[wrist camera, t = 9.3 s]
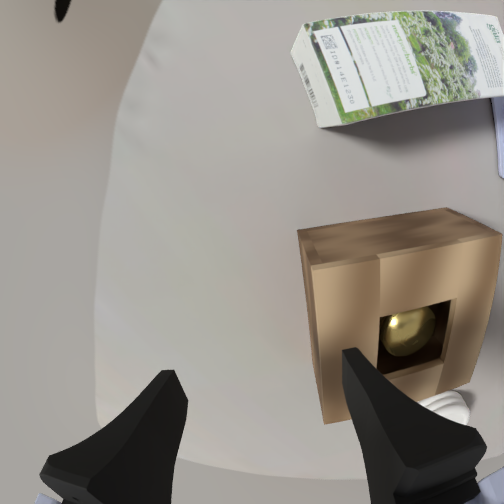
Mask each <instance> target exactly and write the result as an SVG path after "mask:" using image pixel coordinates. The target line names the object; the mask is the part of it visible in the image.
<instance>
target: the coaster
mask: <svg viewBox="0 0 504 504" xmlns="http://www.w3.org/2000/svg"><path fill="white" fill-rule="evenodd" d="M418 403H419V404H420V405H422V406H424V407H425V408H427V409H429V410H431V411H433V412H435V413H437V414H439V415H440V416H443V417H445V418H447V419H450V420H452V421H455V422H457V423H460V424H464V425H467V423H468V421H469V418H470V409H469V408H468V407H467V406H466V403H465V401H464V400H463V398H462V396H461V395H460V394H459V393H458V392H455V391H446V392H444V393H441V394H438V395H435V396H433V397H430V398H427V399H424V400H421V401H420V402H418Z"/></svg>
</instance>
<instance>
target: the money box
mask: <svg viewBox="0 0 504 504" xmlns="http://www.w3.org/2000/svg"><path fill="white" fill-rule="evenodd" d="M297 233H298V240H299V247H300V254H301V262H302V270H303V277H304V286H305V294H306V302H307V311H308V320H309V330H310V340H311V350H312V360H313V367H314V373H315V378H316V383H317V388H318V394H319V399H320V404H321V410H322V415H323V421H324V424H330V423H335V422H341V421H345V420H350V419H352V418H351V415H350V412H349V410H348V407H347V404H346V399H345V395H344V390H343V385H342V350H344V349H349V348H354V347H357V348H358V349H359V350H360V351H361V352H362V354H363V355H364V356H365V357H366V358H367V359H368V360H369V361H370V363H371V364H372V365H373V366H374V367H375V368H376V369H377V370H378V371H379V372H380V373H381V374H382V375H383V376H384V377H385V378H386V379H388V380H389V381H390V382H391V383H392V384H393V385H394V386H396V387H397V388H398V389H399V390H400V391H402V392H403V393H404V394H406V395H407V396H408V397H410V398H411V399H413V400H414V401H416V402H418V401H421V400H424V399H427V398H430V397H433V396H435V395H438V394H441V393H444V392H446V391H449V390H452V389H454V388H457V387H459V386H462V385H464V384H466V383H469V382H470V379H471V377H472V374H473V371H474V368H475V365H476V362H477V359H478V356H479V353H480V349H481V346H482V343H483V339H484V335H485V332H486V328H487V324H488V320H489V316H490V311H491V307H492V302H493V297H494V292H495V287H496V281H497V275H498V268H499V261H500V253H501V244H502V234H501V233H499V232H497V231H495V230H493V229H491V228H489V227H487V226H485V225H483V224H481V223H479V222H477V221H475V220H473V219H471V218H469V217H467V216H464V215H462V214H460V213H458V212H456V211H453V210H451V209H449V208H440V209H433V210H426V211H419V212H412V213H405V214H399V215H392V216H385V217H378V218H372V219H365V220H359V221H352V222H346V223H339V224H333V225H326V226H320V227H314V228H307V229H301V230H297ZM425 306H428V307H429V308H430V309H431V310H432V312H433V313H434V315H435V320H436V322H435V329H434V332H433V334H432V336H431V337H430V339H429V340H428V342H427V343H426V344H425V345H424V346H423V347H422V348H421V349H419V350H418V351H416V352H414V353H412V354H410V355H407V356H394V355H392V354H390V353H389V352H388V351H387V350H386V348H385V346H384V345H383V343H382V341H381V339H380V338H379V321H380V317H383V316H388V315H392V314H396V313H401V312H405V311H409V310H413V309H417V308H421V307H425Z"/></svg>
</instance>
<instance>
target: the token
mask: <svg viewBox="0 0 504 504" xmlns="http://www.w3.org/2000/svg"><path fill="white" fill-rule="evenodd" d="M435 322H436V320H435V315H434V313H433V312H432V310H431V309H430V308H429V307H428V306H425V307H421V308H417V309H413V310H409V311H405V312H401V313H396V314H392V315H388V316H383V317H380V321H379V338H380V339H381V341H382V343H383V345H384V346H385V348H386V350H387V351H388V352H389V353H390V354H392V355H394V356H407V355H410V354H412V353H414V352H416V351H418V350H419V349H421V348H422V347H423V346H424V345H425V344H426V343H427V342H428V340H429V339H430V337H431V336H432V334H433V332H434V329H435Z"/></svg>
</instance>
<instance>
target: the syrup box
mask: <svg viewBox="0 0 504 504" xmlns="http://www.w3.org/2000/svg"><path fill="white" fill-rule="evenodd" d="M291 56H292V58H293V60H294V62H295V64H296V67H297V69H298V71H299V74H300V76H301V79H302V81H303V84H304V86H305V89H306V92H307V94H308V97H309V99H310V102H311V105H312V107H313V110H314V113H315V116H316V122H317V124H318V127H319V128H326V127H334V126H343V125H349V124H353V123H356V122H360V121H364V120H368V119H372V118H377V117H381V116H386V115H390V114H395V113H400V112H405V111H410V110H415V109H419V108H424V107H429V106H435V105H441V104H447V103H453V102H460V101H467V100H474V99H482V98H491V97H502V96H504V34H503V32H502V30H501V27H500V23H499V21H498V18H497V17H495V16H491V15H483V14H474V13H463V12H449V11H394V12H379V13H368V14H358V15H351V16H344V17H337V18H331V19H325V20H319V21H314V22H309V23H305V24H303V25H302V28H301V30H300V32H299V34H298V36H297V38H296V40H295V43H294V45H293V48H292V50H291Z"/></svg>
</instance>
